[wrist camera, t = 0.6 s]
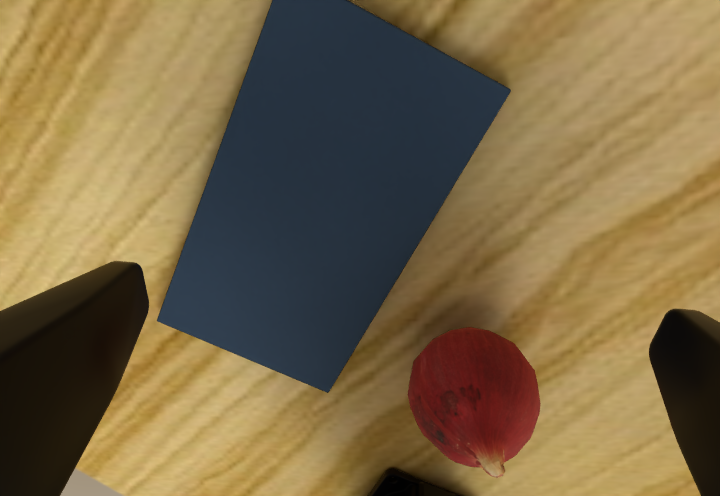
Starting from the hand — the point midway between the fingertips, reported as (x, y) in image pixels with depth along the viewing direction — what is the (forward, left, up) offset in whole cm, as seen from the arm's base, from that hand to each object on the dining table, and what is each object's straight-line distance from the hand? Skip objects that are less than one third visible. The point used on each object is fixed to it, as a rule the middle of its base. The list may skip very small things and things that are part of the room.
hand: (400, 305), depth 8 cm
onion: (-8, -8, -14) cm, 18 cm away
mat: (-5, +2, -14) cm, 15 cm away
